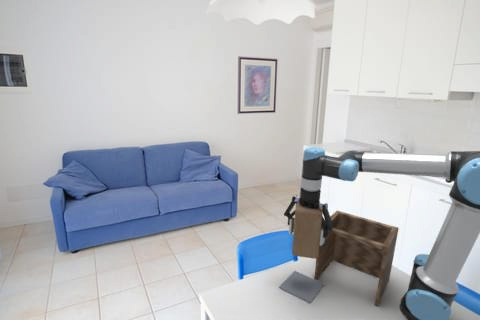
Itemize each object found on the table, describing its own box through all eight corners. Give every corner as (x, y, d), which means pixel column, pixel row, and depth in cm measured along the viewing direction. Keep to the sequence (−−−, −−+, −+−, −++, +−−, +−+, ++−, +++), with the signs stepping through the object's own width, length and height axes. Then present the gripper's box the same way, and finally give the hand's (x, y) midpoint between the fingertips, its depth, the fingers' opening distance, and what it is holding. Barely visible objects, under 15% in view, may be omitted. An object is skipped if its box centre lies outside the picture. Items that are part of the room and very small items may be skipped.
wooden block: (317, 260, 112) (323, 212, 107) (291, 256, 114) (295, 209, 109) (316, 246, 121) (321, 202, 116) (292, 243, 123) (296, 199, 118)
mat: (324, 284, 123) (324, 283, 123) (310, 303, 112) (310, 302, 112) (294, 271, 131) (294, 270, 131) (278, 287, 120) (278, 286, 120)
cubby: (389, 280, 127) (398, 227, 120) (377, 307, 111) (388, 248, 105) (331, 258, 142) (336, 210, 136) (314, 278, 127) (319, 225, 120)
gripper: (346, 193, 106) (339, 245, 112) (286, 178, 121) (283, 225, 126) (339, 199, 100) (332, 253, 106) (277, 183, 115) (274, 231, 120)
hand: (305, 238), depth 116 cm, fingers open, 13 cm apart
